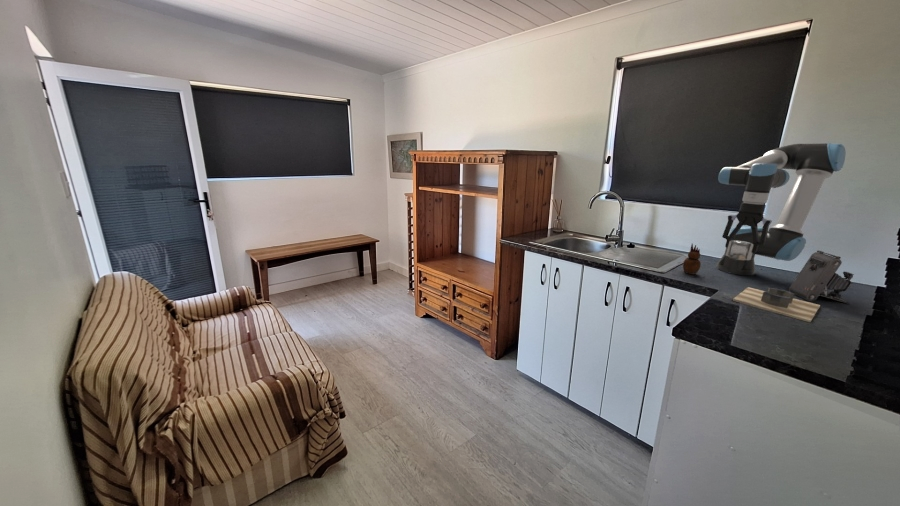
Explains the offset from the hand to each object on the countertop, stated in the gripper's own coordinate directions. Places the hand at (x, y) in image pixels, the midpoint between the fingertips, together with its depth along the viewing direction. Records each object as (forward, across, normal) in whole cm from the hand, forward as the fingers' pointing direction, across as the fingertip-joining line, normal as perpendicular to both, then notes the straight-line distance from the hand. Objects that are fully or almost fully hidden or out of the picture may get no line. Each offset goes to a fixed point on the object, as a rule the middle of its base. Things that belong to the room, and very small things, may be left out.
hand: (737, 257), depth 140 cm
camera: (+15, +23, +24) cm, 37 cm away
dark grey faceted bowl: (+15, +15, 0) cm, 22 cm away
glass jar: (0, 0, 0) cm, 0 cm away
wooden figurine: (+15, -19, +11) cm, 27 cm away
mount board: (+15, +15, 0) cm, 22 cm away
